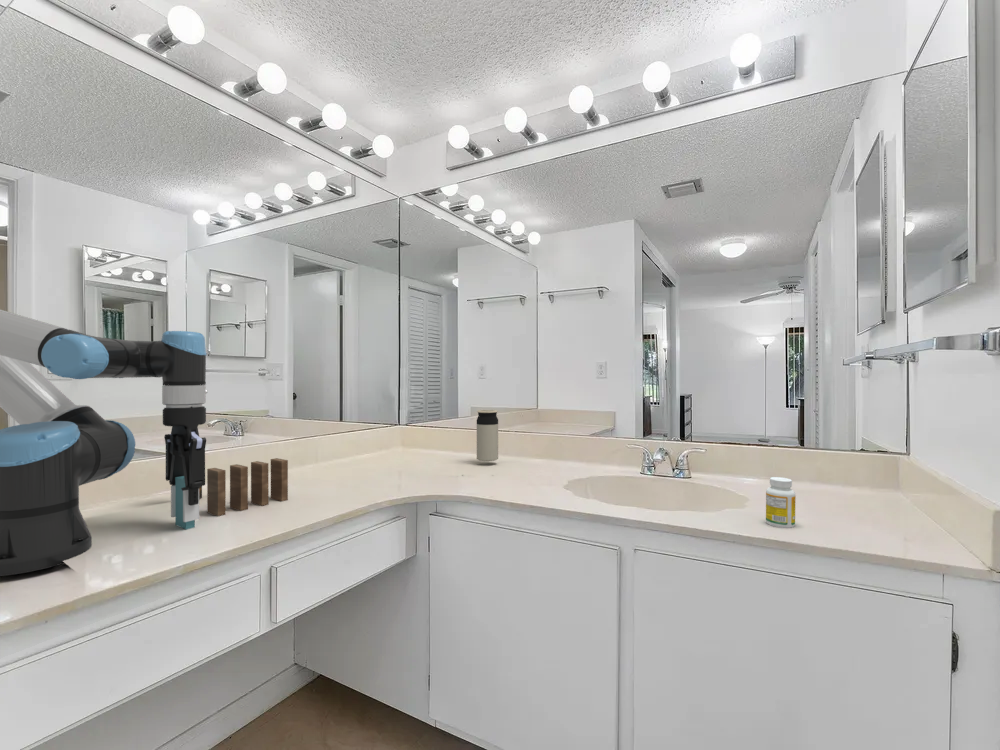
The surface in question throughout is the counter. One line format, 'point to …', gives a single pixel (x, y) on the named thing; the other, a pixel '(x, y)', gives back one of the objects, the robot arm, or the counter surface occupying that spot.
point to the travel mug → (487, 435)
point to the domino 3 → (239, 487)
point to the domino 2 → (216, 491)
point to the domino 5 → (279, 479)
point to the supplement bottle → (780, 503)
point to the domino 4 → (259, 483)
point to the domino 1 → (181, 505)
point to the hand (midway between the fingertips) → (185, 517)
